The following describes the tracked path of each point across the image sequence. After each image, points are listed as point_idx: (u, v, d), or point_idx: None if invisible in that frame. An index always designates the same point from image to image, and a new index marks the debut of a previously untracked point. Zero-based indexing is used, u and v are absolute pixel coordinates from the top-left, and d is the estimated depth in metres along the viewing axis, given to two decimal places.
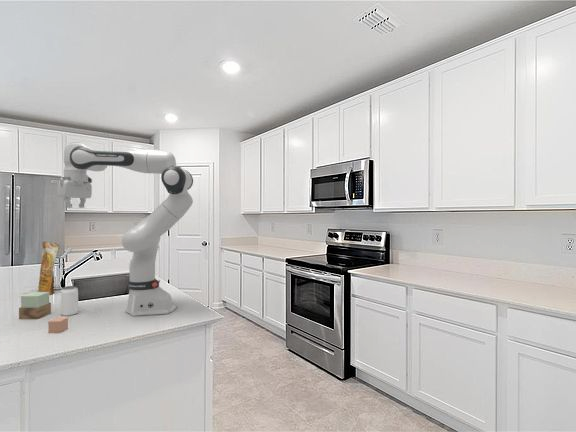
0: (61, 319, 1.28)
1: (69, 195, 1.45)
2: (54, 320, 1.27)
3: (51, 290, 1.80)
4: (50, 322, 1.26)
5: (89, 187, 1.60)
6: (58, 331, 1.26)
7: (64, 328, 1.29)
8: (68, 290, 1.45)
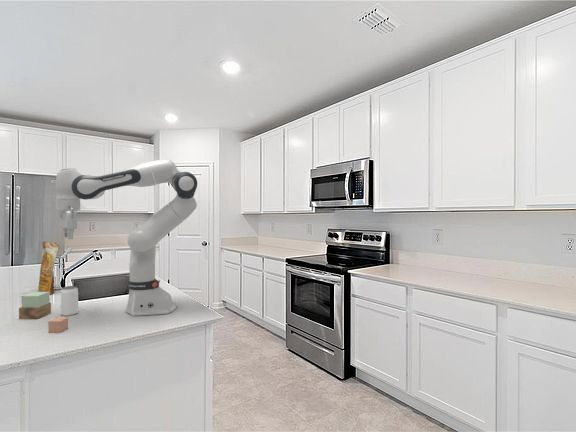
0: (61, 319, 1.28)
1: None
2: (54, 320, 1.27)
3: (51, 290, 1.80)
4: (50, 322, 1.26)
5: None
6: (58, 331, 1.26)
7: (64, 328, 1.29)
8: (68, 290, 1.45)
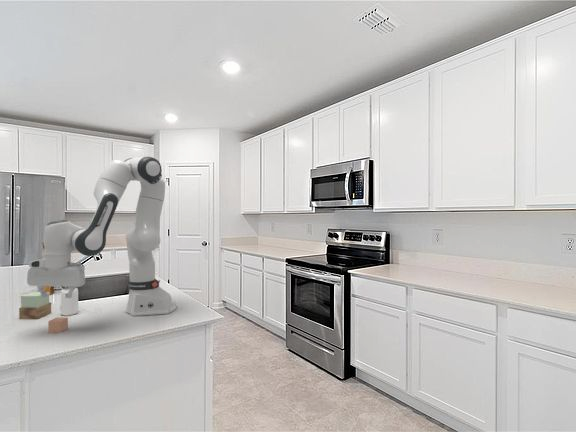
0: (61, 319, 1.28)
1: None
2: (54, 320, 1.27)
3: (51, 290, 1.80)
4: (50, 322, 1.26)
5: None
6: (58, 331, 1.26)
7: (64, 328, 1.29)
8: (68, 290, 1.45)
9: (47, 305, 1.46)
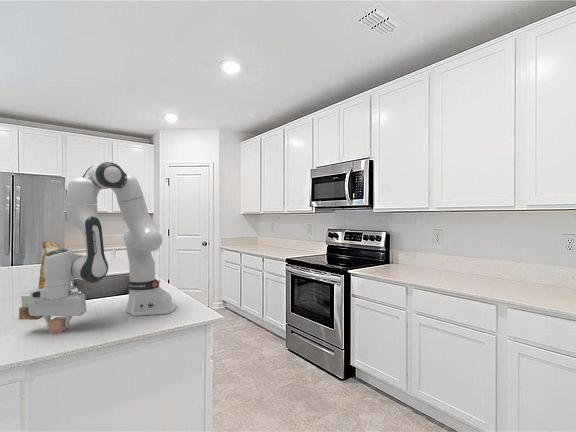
0: (61, 319, 1.28)
1: None
2: (54, 320, 1.27)
3: None
4: (50, 322, 1.26)
5: None
6: (58, 331, 1.26)
7: (64, 328, 1.29)
8: None
9: None
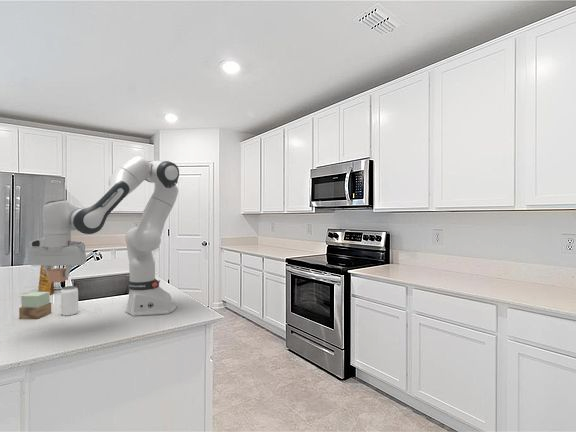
0: (61, 269, 1.27)
1: None
2: (54, 270, 1.27)
3: (51, 290, 1.80)
4: (50, 271, 1.25)
5: None
6: (58, 280, 1.26)
7: (64, 278, 1.28)
8: (68, 290, 1.45)
9: (47, 305, 1.46)
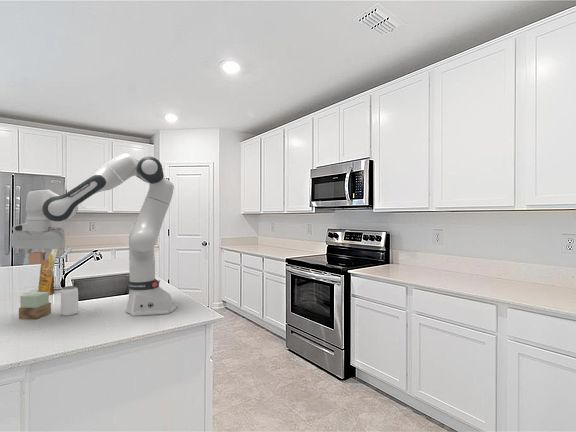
0: (41, 252, 1.39)
1: None
2: (34, 252, 1.38)
3: (51, 290, 1.80)
4: (31, 254, 1.37)
5: None
6: (38, 262, 1.37)
7: (44, 261, 1.40)
8: (68, 290, 1.45)
9: (47, 305, 1.46)
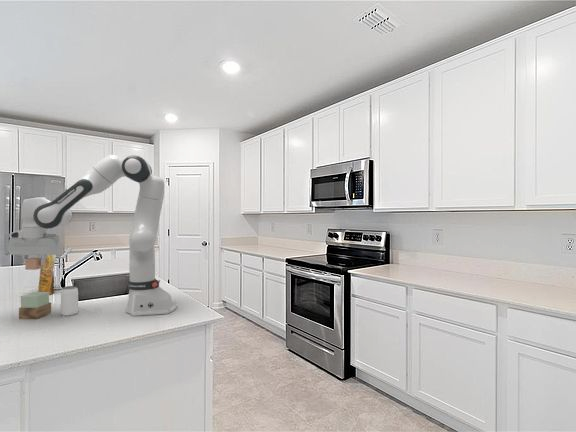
0: (37, 258, 1.43)
1: None
2: (31, 258, 1.43)
3: (51, 290, 1.80)
4: (27, 260, 1.41)
5: None
6: (34, 268, 1.42)
7: (40, 266, 1.44)
8: (68, 290, 1.45)
9: (47, 305, 1.46)
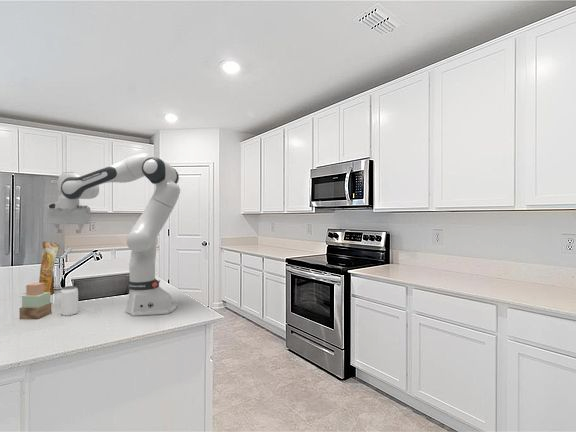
0: (37, 284, 1.44)
1: None
2: (31, 284, 1.43)
3: (51, 290, 1.80)
4: (28, 286, 1.42)
5: None
6: (35, 294, 1.42)
7: (40, 292, 1.44)
8: (68, 290, 1.45)
9: (47, 305, 1.46)
